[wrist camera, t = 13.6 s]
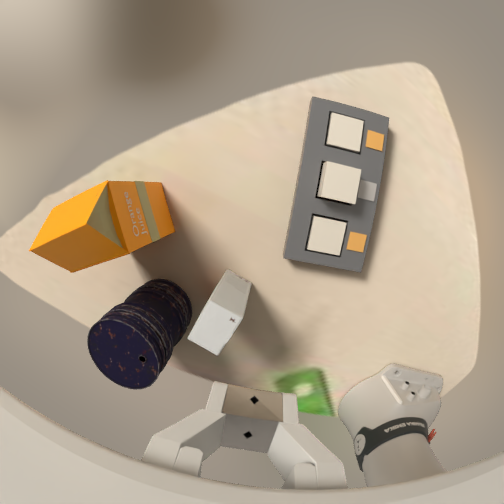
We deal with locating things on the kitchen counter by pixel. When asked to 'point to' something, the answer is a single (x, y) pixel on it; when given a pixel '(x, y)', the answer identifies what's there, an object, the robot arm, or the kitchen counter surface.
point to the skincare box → (221, 313)
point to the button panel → (352, 214)
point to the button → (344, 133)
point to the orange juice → (104, 224)
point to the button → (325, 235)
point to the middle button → (339, 182)
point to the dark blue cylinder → (140, 334)
